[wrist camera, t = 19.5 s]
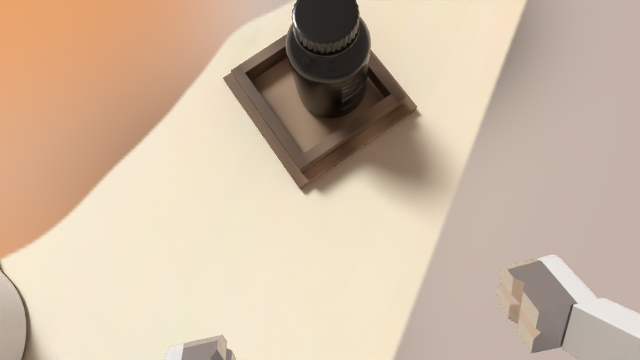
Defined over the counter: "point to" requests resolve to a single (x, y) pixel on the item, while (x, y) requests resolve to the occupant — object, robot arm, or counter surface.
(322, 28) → the supplement bottle
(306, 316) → the counter surface
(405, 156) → the counter surface
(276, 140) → the walnut tray
